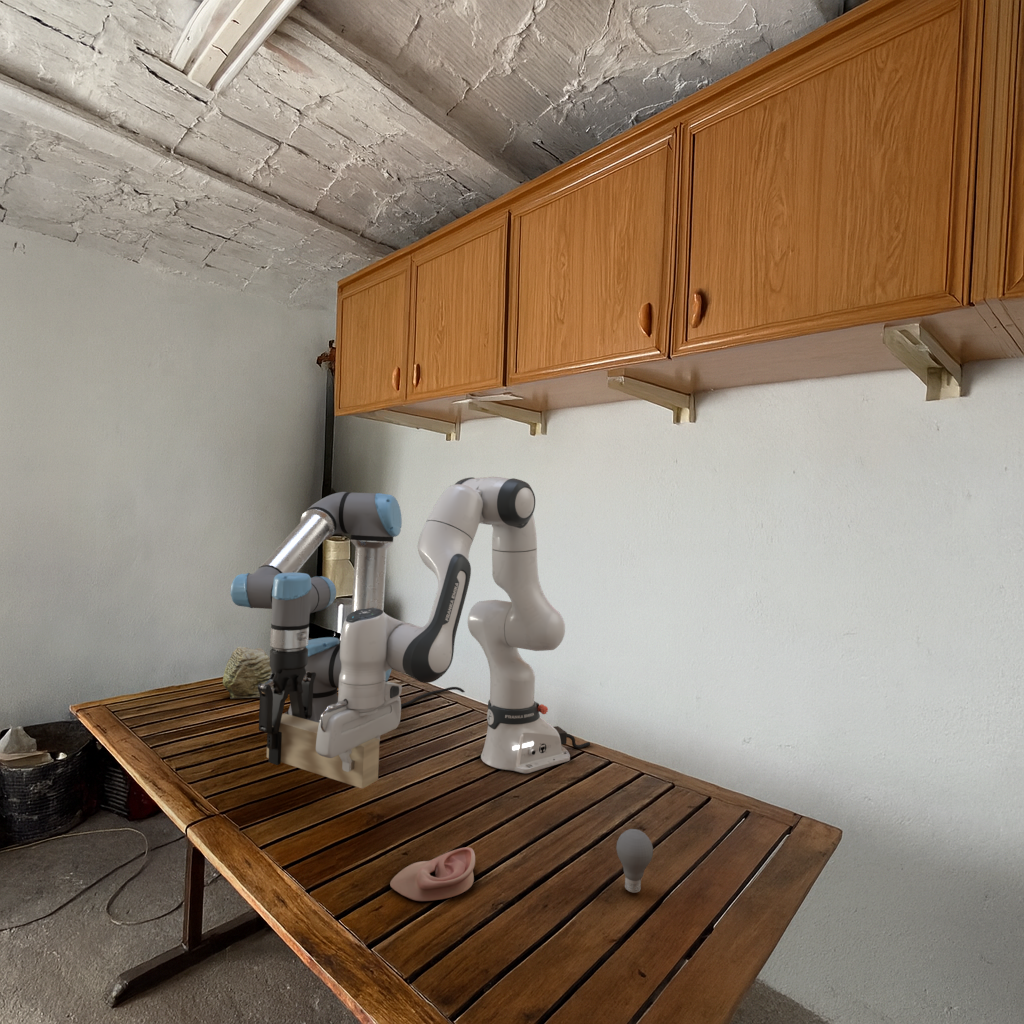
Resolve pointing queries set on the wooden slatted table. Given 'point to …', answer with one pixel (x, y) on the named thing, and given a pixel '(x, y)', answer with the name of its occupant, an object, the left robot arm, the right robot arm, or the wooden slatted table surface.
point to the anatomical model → (437, 876)
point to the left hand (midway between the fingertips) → (284, 758)
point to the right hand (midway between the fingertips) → (359, 764)
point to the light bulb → (634, 857)
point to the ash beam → (303, 755)
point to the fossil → (246, 672)
